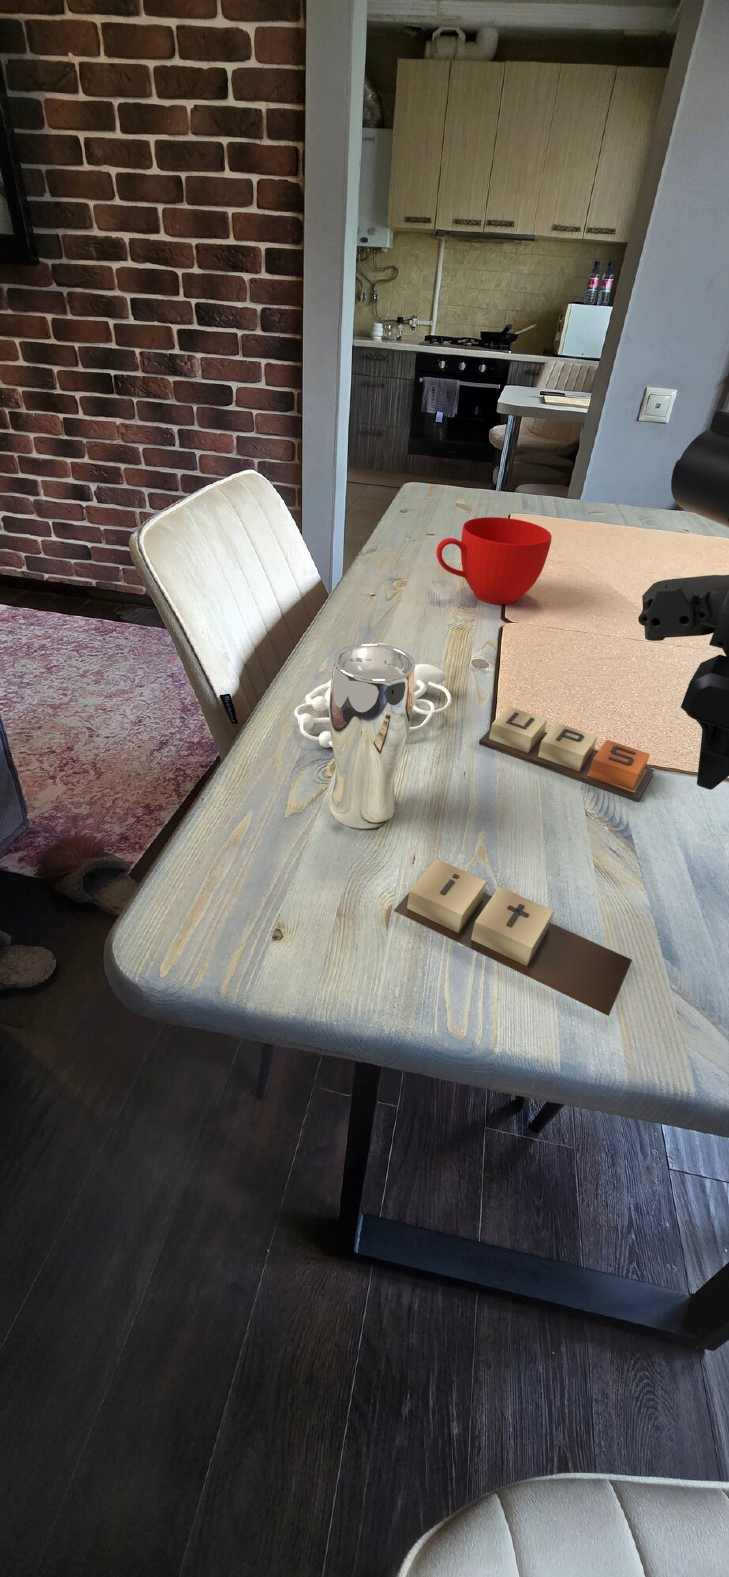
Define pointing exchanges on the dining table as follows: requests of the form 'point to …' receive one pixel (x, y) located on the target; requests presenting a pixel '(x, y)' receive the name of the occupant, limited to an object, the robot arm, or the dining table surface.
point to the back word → (553, 749)
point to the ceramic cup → (499, 557)
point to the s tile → (619, 764)
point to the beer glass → (368, 730)
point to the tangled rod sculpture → (422, 681)
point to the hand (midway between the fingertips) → (716, 758)
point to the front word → (515, 935)
